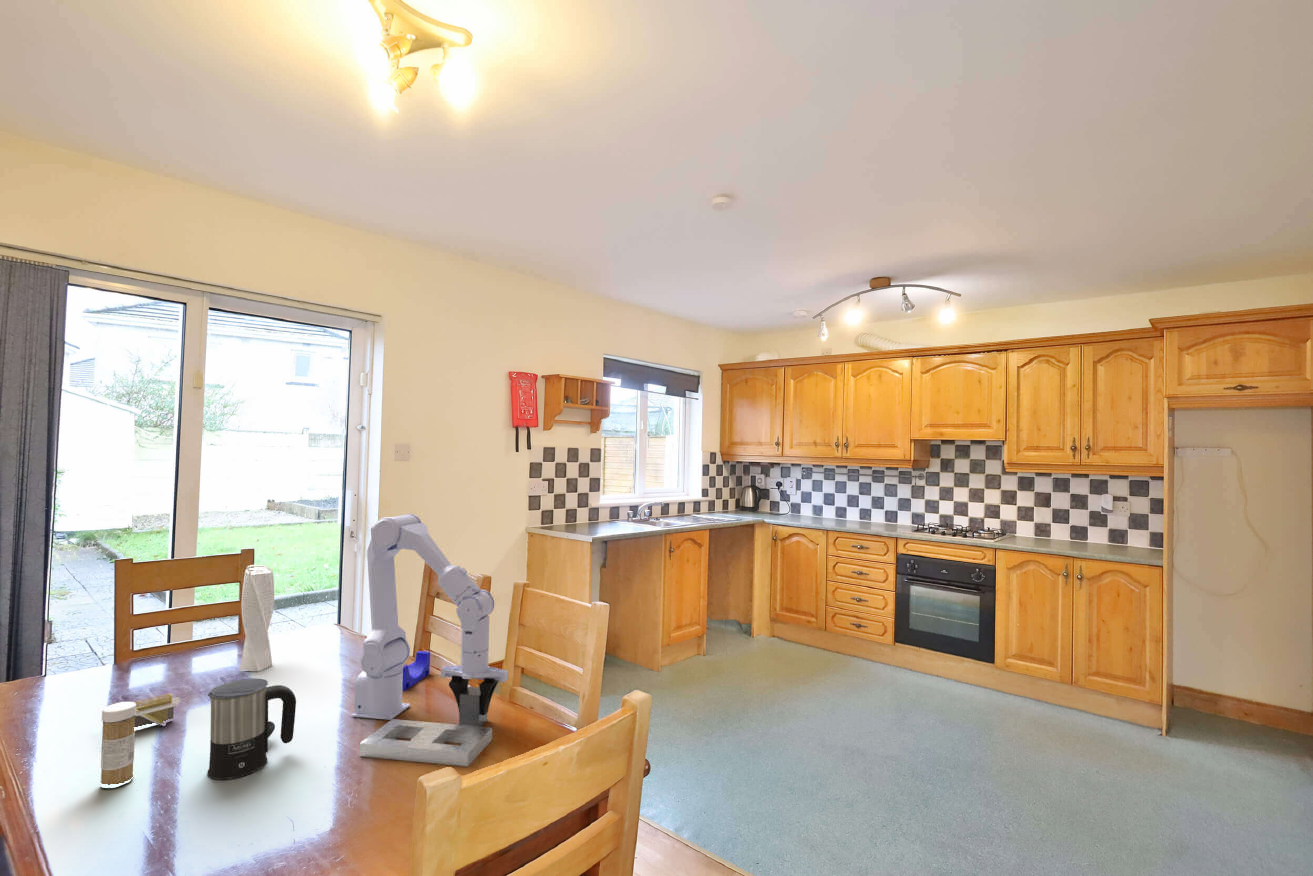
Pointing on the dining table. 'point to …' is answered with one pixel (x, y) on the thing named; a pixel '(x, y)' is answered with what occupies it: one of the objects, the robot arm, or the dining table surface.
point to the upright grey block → (471, 708)
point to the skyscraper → (257, 617)
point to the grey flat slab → (427, 742)
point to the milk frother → (245, 725)
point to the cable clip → (416, 670)
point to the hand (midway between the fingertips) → (473, 712)
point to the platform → (155, 710)
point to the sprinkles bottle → (118, 743)
